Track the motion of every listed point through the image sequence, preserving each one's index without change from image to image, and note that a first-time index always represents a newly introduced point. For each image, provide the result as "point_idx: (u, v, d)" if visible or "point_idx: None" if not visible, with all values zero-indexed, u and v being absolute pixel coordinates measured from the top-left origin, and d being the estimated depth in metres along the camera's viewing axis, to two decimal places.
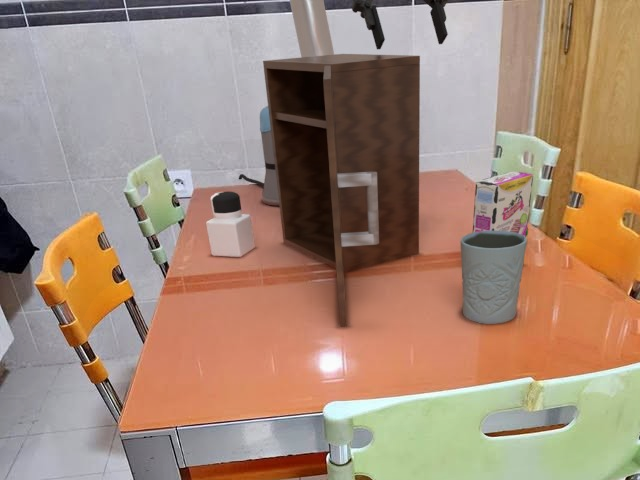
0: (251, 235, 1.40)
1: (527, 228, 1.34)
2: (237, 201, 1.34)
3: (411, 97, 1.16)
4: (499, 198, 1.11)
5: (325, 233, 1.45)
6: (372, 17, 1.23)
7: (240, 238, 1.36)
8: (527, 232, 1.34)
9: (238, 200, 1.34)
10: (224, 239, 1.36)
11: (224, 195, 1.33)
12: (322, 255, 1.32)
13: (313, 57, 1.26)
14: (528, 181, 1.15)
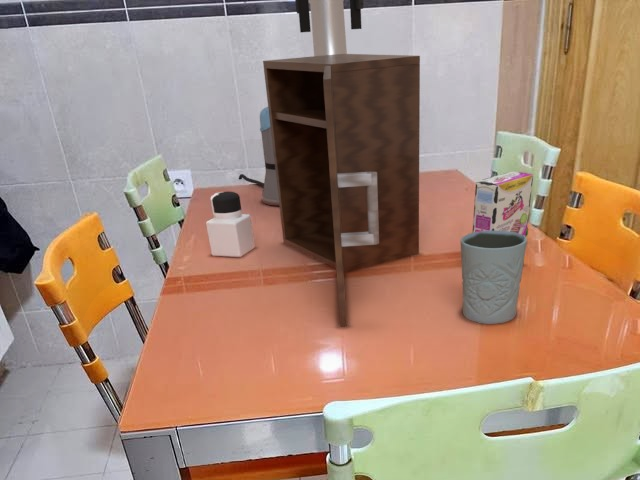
0: (251, 235, 1.40)
1: (527, 228, 1.34)
2: (237, 201, 1.34)
3: (411, 97, 1.16)
4: (499, 198, 1.11)
5: (325, 233, 1.45)
6: None
7: (240, 238, 1.36)
8: (527, 232, 1.34)
9: (238, 200, 1.34)
10: (224, 239, 1.36)
11: (224, 195, 1.33)
12: (322, 255, 1.32)
13: (313, 57, 1.26)
14: (528, 181, 1.15)
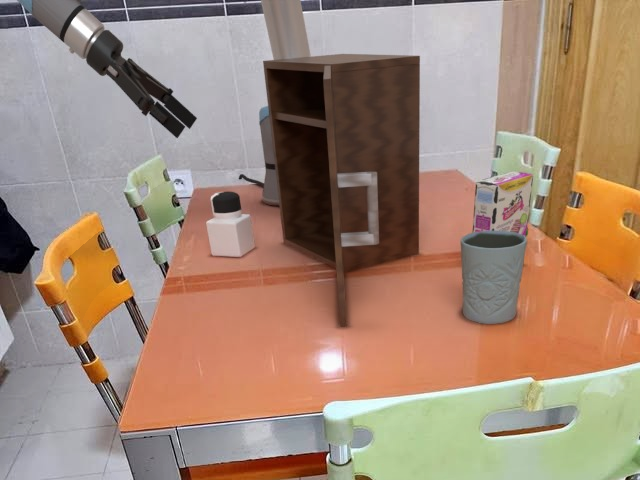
0: (251, 235, 1.40)
1: (527, 228, 1.34)
2: (237, 201, 1.34)
3: (411, 97, 1.16)
4: (499, 198, 1.11)
5: (325, 233, 1.45)
6: None
7: (240, 238, 1.36)
8: (527, 232, 1.34)
9: (238, 200, 1.34)
10: (224, 239, 1.36)
11: (224, 195, 1.33)
12: (322, 255, 1.32)
13: (313, 57, 1.26)
14: (528, 181, 1.15)
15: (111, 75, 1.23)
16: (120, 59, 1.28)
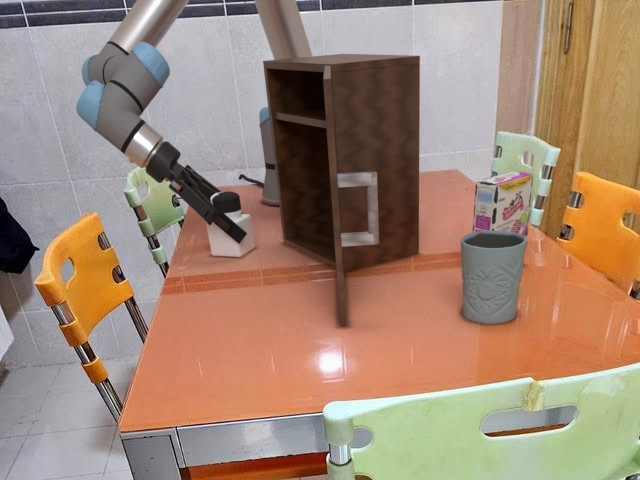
0: (251, 235, 1.40)
1: (527, 228, 1.34)
2: (237, 201, 1.34)
3: (411, 97, 1.16)
4: (499, 198, 1.11)
5: (325, 233, 1.45)
6: None
7: None
8: (527, 232, 1.34)
9: (238, 200, 1.34)
10: (224, 239, 1.36)
11: (224, 195, 1.33)
12: (322, 255, 1.32)
13: (313, 57, 1.26)
14: (528, 181, 1.15)
15: (175, 190, 1.27)
16: (177, 167, 1.31)
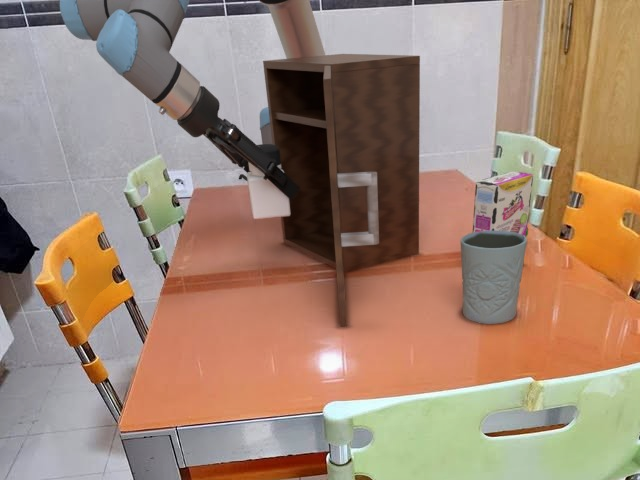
0: None
1: (527, 228, 1.34)
2: (279, 153, 1.20)
3: (411, 97, 1.16)
4: (499, 198, 1.11)
5: (325, 233, 1.45)
6: None
7: None
8: (527, 232, 1.34)
9: None
10: (271, 197, 1.21)
11: (267, 146, 1.18)
12: (322, 255, 1.32)
13: (313, 57, 1.26)
14: (528, 181, 1.15)
15: (233, 140, 1.10)
16: None
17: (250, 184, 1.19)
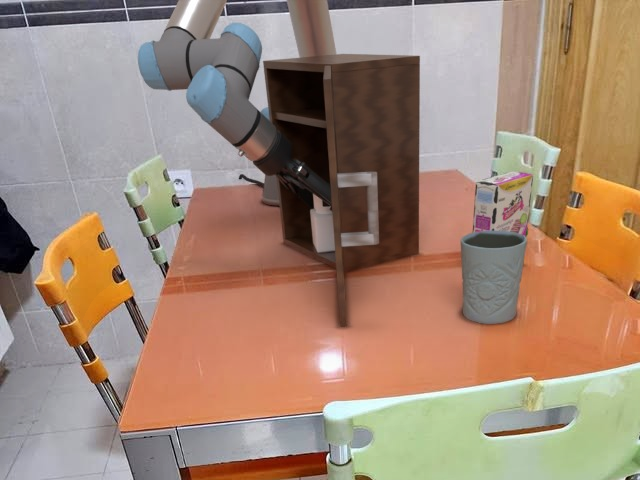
0: None
1: (527, 228, 1.34)
2: None
3: (411, 97, 1.16)
4: (499, 198, 1.11)
5: None
6: None
7: None
8: (527, 232, 1.34)
9: None
10: None
11: None
12: (322, 255, 1.32)
13: (313, 57, 1.26)
14: (528, 181, 1.15)
15: (302, 176, 1.19)
16: None
17: (316, 221, 1.30)
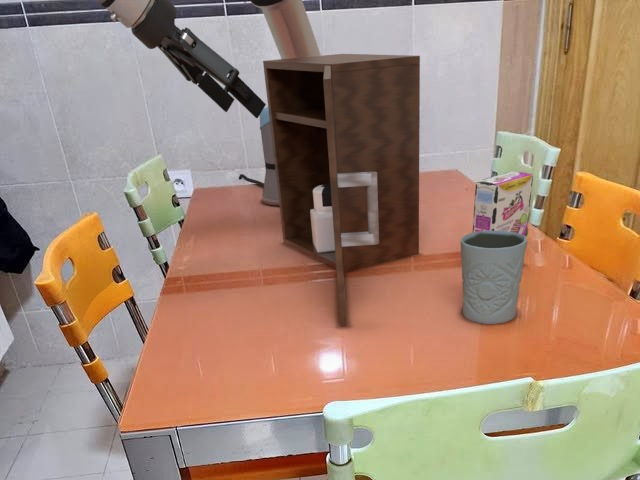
0: None
1: (527, 228, 1.34)
2: None
3: (411, 97, 1.16)
4: (499, 198, 1.11)
5: None
6: None
7: None
8: (527, 232, 1.34)
9: None
10: None
11: None
12: (322, 255, 1.32)
13: (313, 57, 1.26)
14: (528, 181, 1.15)
15: (187, 45, 1.01)
16: None
17: (316, 221, 1.30)
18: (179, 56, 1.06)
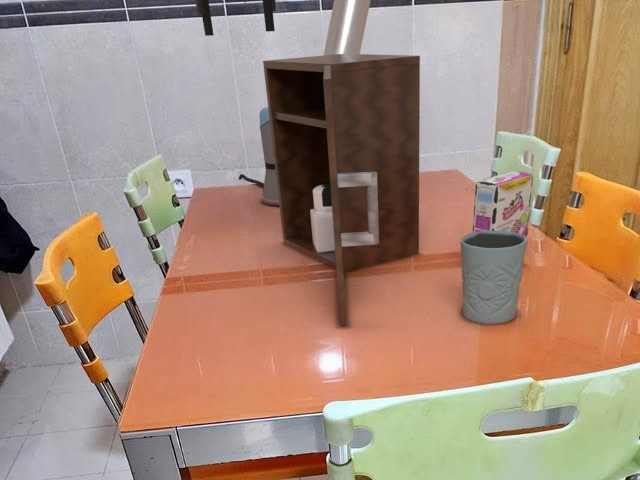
0: None
1: (527, 228, 1.34)
2: None
3: (411, 97, 1.16)
4: (499, 198, 1.11)
5: None
6: (203, 6, 1.26)
7: None
8: (527, 232, 1.34)
9: None
10: None
11: None
12: (322, 255, 1.32)
13: (313, 57, 1.26)
14: (528, 181, 1.15)
15: None
16: None
17: (316, 221, 1.30)
18: None
